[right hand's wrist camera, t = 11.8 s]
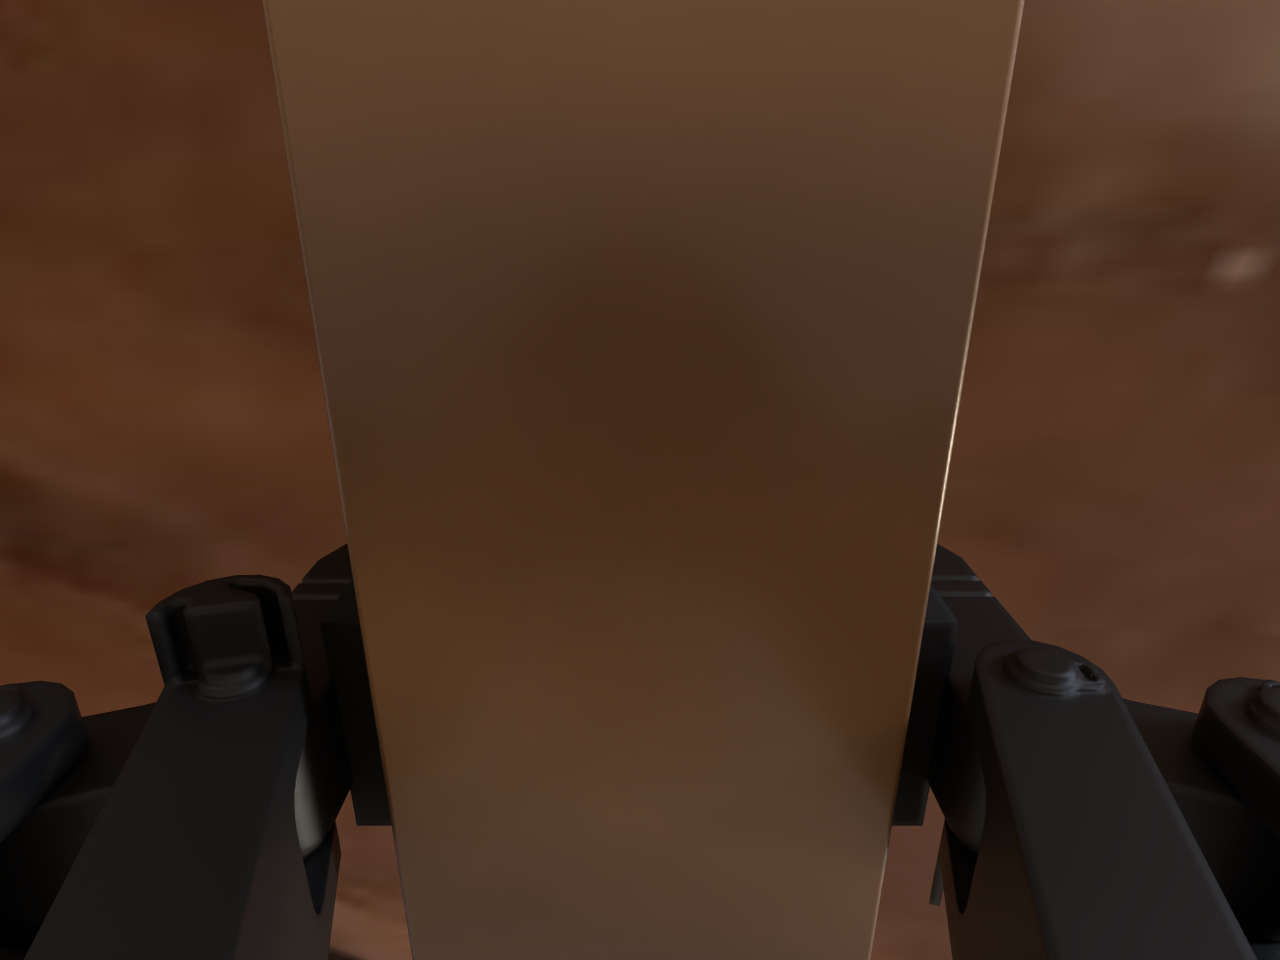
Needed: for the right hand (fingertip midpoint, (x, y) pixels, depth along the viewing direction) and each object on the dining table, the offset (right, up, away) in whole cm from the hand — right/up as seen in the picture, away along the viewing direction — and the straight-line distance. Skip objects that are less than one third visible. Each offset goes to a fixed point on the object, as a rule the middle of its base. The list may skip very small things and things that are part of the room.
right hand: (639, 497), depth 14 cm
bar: (0, +8, -2) cm, 8 cm away
